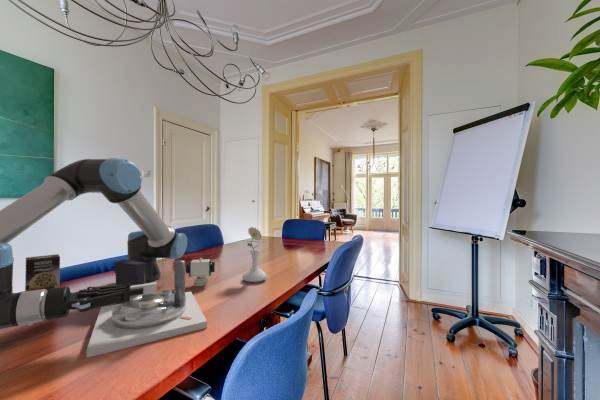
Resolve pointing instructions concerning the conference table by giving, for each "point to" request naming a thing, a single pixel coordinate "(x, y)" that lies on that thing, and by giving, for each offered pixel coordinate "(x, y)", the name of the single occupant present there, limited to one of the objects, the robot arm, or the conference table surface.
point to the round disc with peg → (153, 305)
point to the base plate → (142, 329)
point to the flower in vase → (254, 260)
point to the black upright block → (129, 273)
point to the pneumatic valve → (200, 270)
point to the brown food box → (42, 272)
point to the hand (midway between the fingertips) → (156, 287)
